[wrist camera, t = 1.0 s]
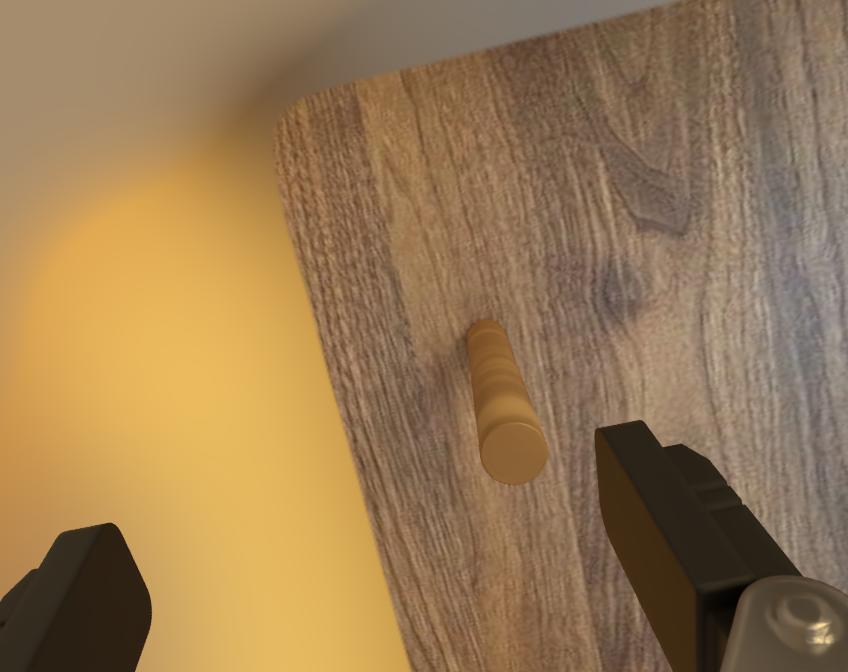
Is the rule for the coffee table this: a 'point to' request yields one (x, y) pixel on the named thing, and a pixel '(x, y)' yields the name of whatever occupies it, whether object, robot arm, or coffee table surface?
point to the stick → (503, 408)
